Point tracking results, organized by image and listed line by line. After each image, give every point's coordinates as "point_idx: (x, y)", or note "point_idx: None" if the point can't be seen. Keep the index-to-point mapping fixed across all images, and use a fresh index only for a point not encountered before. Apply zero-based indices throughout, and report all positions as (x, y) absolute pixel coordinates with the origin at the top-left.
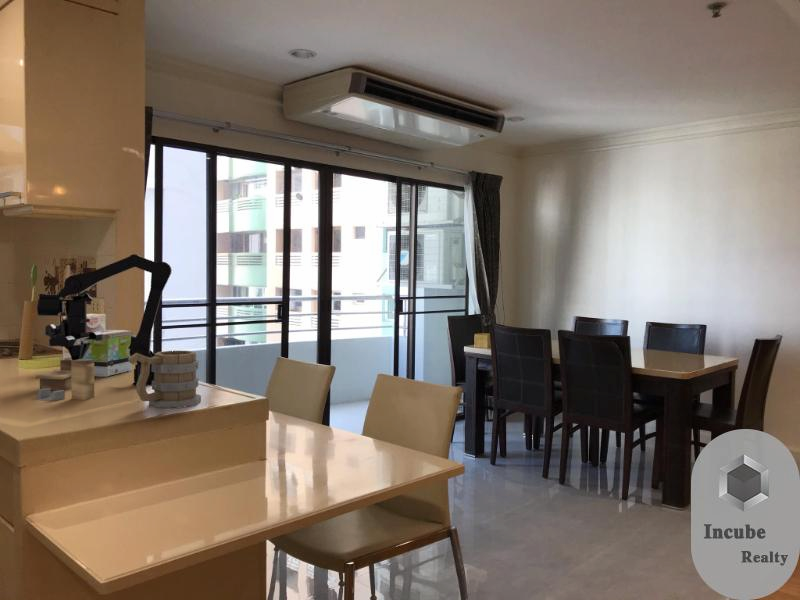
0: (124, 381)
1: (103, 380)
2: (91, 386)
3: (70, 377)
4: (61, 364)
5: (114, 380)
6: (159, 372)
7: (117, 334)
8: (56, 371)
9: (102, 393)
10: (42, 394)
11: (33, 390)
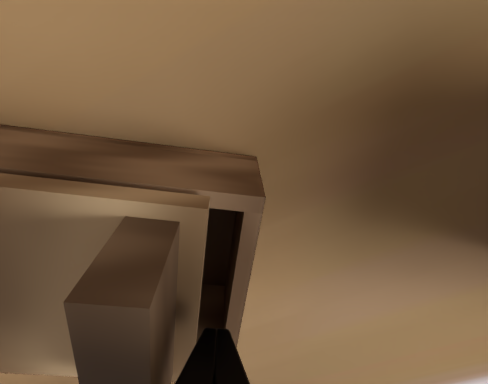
0: (360, 356)
1: (409, 275)
2: None
3: (240, 211)
4: (98, 268)
5: (397, 317)
6: None
7: None
8: (29, 219)
9: (71, 377)
10: None
11: (16, 7)
